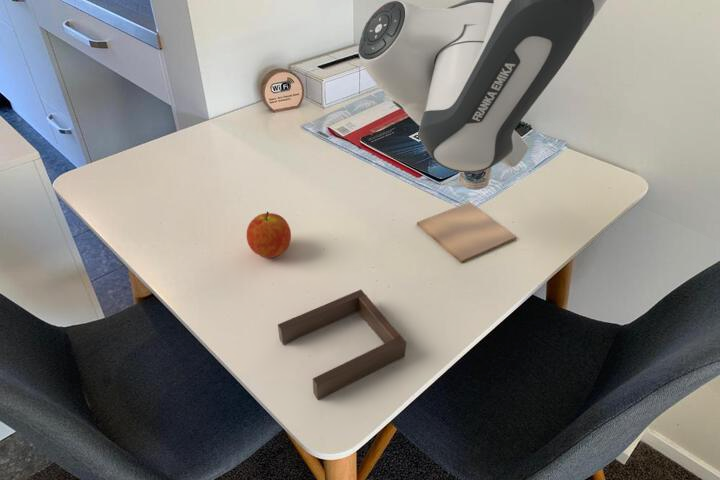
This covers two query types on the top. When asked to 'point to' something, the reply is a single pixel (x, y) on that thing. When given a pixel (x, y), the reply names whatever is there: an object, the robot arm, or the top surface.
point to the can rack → (359, 365)
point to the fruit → (268, 235)
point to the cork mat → (466, 231)
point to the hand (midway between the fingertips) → (481, 145)
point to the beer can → (475, 179)
